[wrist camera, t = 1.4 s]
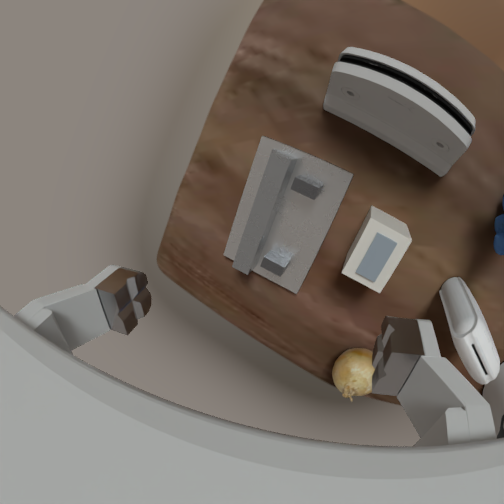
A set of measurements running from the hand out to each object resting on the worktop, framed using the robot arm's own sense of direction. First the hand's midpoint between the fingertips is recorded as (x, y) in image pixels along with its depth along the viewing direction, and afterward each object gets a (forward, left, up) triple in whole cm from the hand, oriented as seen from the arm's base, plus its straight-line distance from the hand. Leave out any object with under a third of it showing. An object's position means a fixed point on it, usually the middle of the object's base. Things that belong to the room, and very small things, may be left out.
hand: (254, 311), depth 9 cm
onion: (-14, +22, -28) cm, 39 cm away
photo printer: (-22, +6, -28) cm, 36 cm away
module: (-6, +4, -28) cm, 29 cm away
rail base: (+6, +7, -28) cm, 29 cm away
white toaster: (-2, -11, -28) cm, 30 cm away
